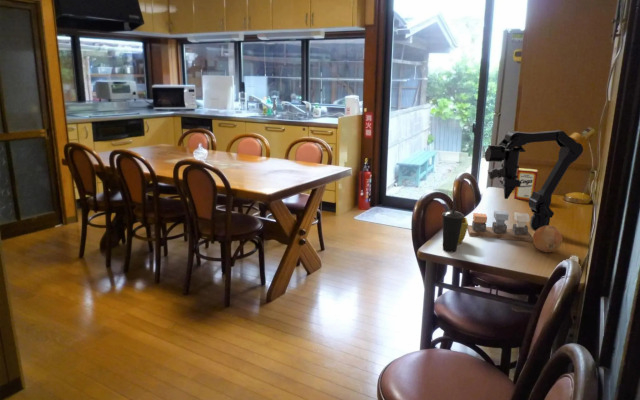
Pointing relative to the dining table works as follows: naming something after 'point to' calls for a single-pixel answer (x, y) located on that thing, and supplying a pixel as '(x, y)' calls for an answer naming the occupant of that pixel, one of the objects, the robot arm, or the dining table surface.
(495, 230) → the walnut button board
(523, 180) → the baking soda box
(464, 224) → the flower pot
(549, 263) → the dining table surface
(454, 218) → the drinking cup
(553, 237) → the onion
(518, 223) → the cream button
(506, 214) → the slate button
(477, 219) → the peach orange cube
